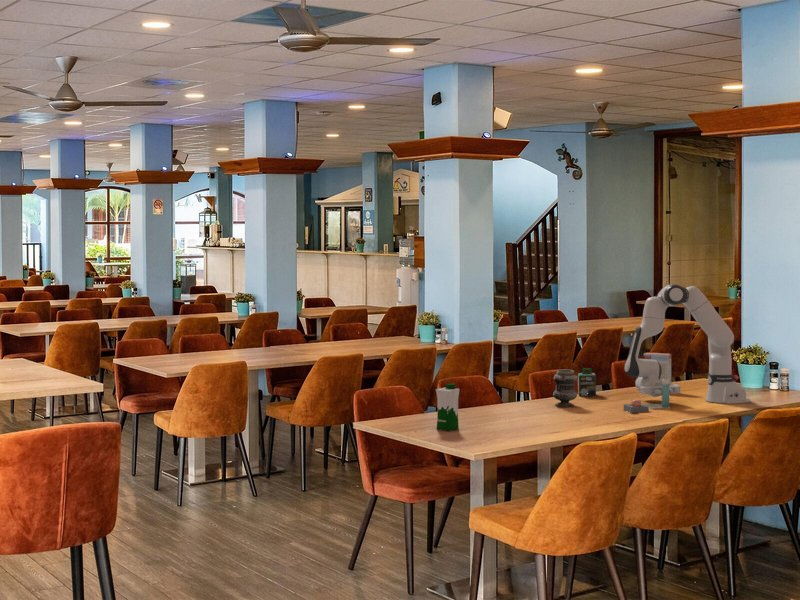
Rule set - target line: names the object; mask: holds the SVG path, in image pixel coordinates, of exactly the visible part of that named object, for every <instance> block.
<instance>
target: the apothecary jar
mask: <svg viewBox="0 0 800 600" xmlns="http://www.w3.org/2000/svg"><path fill="white" fill-rule="evenodd" d="M553 380H554V382H555V390H553V393H552V396H553V397H554V399H555V400H558V401H560V402H557V403H555V404H554V406H555V407H558V408H573V407H575V404H574V403H572V402H570V401H573V400H575V399H576V398H577V397H578V392H577V391H576V390H575V388H576V387H575V386H576V385H575V383H576V382H578V375H576V374H575V370H573V369H564V368H563V369H557V370H556V373H555V374H554V375H553Z"/></svg>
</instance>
